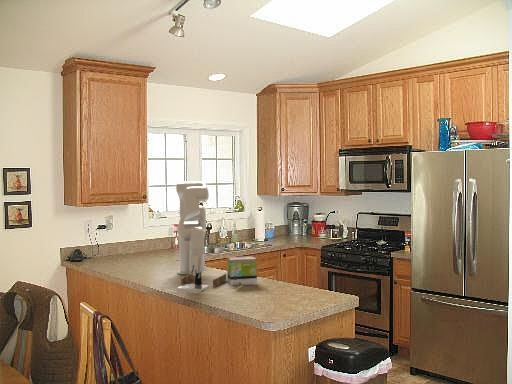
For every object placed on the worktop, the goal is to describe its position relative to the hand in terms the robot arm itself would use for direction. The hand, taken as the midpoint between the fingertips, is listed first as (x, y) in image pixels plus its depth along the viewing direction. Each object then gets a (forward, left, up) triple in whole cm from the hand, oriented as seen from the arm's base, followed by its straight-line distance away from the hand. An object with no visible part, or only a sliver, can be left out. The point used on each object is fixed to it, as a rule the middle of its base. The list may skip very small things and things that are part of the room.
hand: (198, 284), depth 297 cm
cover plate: (+6, 0, -2) cm, 7 cm away
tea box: (-15, +20, -2) cm, 25 cm away
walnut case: (-8, 0, -1) cm, 8 cm away
